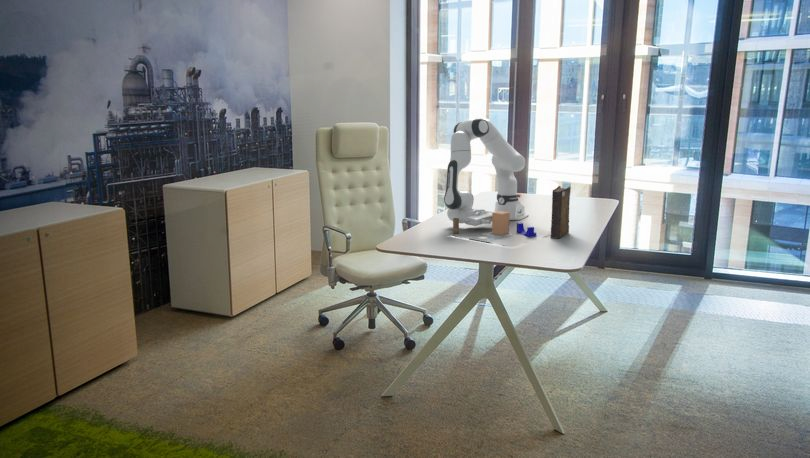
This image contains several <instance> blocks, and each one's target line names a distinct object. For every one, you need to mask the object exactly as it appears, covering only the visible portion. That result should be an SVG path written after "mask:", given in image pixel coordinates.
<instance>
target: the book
mask: <svg viewBox="0 0 810 458" xmlns="http://www.w3.org/2000/svg"><path fill="white" fill-rule="evenodd" d="M551 194H552V197H551V202H552V203H551V204H552V205H551V220H550V221H551V226H550V238H555V239H561V238H563V237H564V236H566V235H568V234H569V233H570V225H569V223H570V199H571V196H570V195H571V186H568V187H567V188H564V187H561V186H560V185H558V186H557V187H556V188H555V189H552V193H551Z"/></svg>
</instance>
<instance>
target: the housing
mask: <svg viewBox="0 0 810 458" xmlns="http://www.w3.org/2000/svg"><path fill="white" fill-rule="evenodd" d="M492 212H493V213H492V222H491V226H492V227H491V231H492V233H493V234H499V235H504V234H507V233H510V221H511V220H510V212H504V211H497V212H495V211H492Z"/></svg>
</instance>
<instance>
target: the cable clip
mask: <svg viewBox="0 0 810 458" xmlns="http://www.w3.org/2000/svg"><path fill="white" fill-rule="evenodd" d="M516 233H518V234H519V235H522V236H526V237H528V238H532V237H537V232H536V231H535V227H534V226H527V228H526V230H525V227H524V223H523V222H516Z"/></svg>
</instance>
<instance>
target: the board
mask: <svg viewBox="0 0 810 458" xmlns="http://www.w3.org/2000/svg"><path fill="white" fill-rule="evenodd" d="M511 235H513V233H511V232H509V233H507V234H504V235H499V234H493V233H492V230H491V231H488V232H485V233H480V234H478V235H474V236H471V237H469V241H473V242H474V241H476V242H479V243H485V244H492V241H496V240H498V239H501V238H505V237H508V236H511Z"/></svg>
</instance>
